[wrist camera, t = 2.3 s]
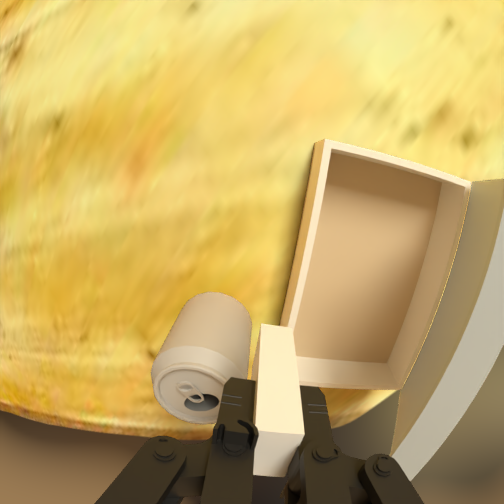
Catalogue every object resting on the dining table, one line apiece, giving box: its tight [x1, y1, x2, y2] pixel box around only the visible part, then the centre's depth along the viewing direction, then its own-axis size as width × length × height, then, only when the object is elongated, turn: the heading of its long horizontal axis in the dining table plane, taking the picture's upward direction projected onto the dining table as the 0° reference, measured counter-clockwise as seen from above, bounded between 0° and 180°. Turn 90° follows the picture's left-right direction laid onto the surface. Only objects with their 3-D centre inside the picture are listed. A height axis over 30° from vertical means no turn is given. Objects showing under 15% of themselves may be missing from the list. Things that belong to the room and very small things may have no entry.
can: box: [151, 292, 252, 424], centre depth 26 cm, size 8×8×12 cm
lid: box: [389, 179, 504, 481], centre depth 18 cm, size 15×22×2 cm
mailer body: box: [279, 139, 471, 390], centre depth 27 cm, size 14×22×5 cm, turn 171°
